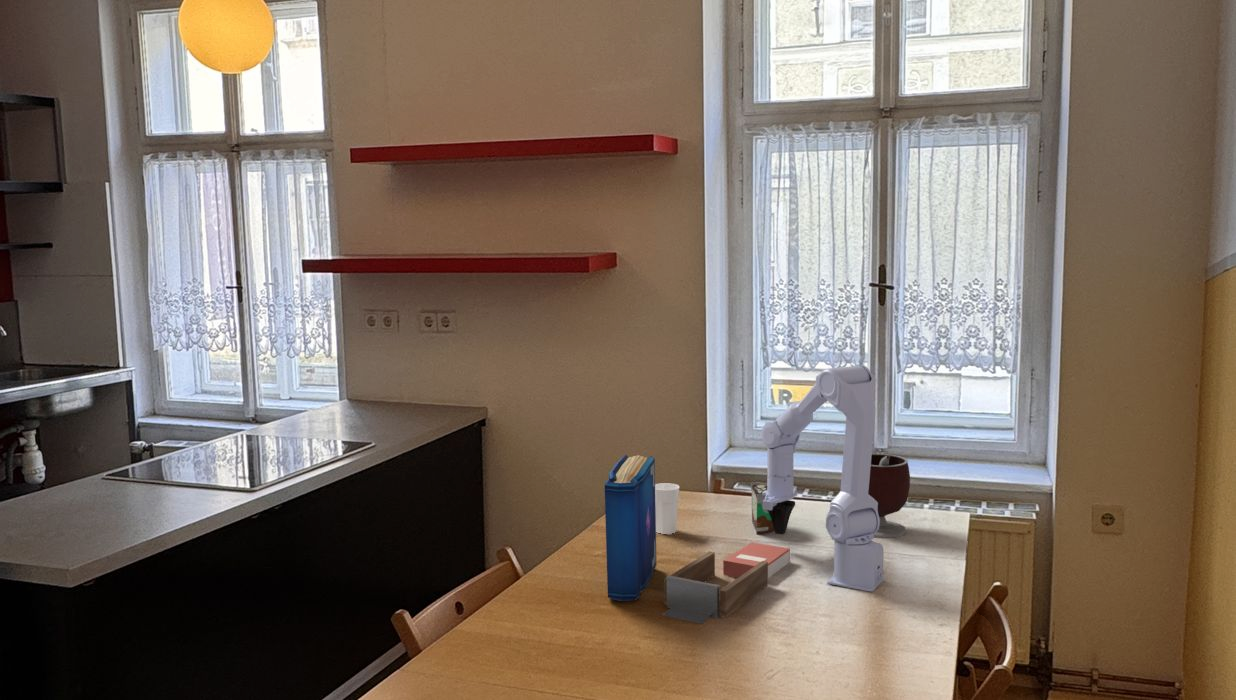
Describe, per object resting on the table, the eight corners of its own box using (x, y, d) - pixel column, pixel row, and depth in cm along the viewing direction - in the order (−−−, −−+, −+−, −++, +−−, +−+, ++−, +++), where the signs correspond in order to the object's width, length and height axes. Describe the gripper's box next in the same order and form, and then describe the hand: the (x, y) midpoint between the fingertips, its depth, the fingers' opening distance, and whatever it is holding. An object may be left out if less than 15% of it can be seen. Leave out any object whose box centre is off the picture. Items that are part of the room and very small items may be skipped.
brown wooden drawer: (767, 585, 201) (767, 561, 200) (725, 617, 185) (725, 591, 184) (709, 574, 208) (709, 551, 207) (664, 604, 192) (664, 579, 191)
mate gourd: (843, 521, 243) (844, 441, 241) (901, 521, 243) (902, 441, 240) (856, 541, 228) (857, 456, 226) (917, 541, 227) (919, 455, 225)
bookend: (719, 616, 185) (719, 585, 185) (707, 625, 181) (707, 593, 181) (669, 605, 191) (669, 575, 191) (656, 614, 187) (655, 583, 186)
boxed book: (790, 564, 215) (790, 548, 214) (763, 584, 203) (763, 567, 203) (751, 557, 220) (751, 541, 219) (723, 576, 208) (723, 560, 207)
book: (639, 606, 191) (637, 479, 188) (603, 604, 193) (600, 478, 190) (657, 568, 212) (655, 454, 209) (624, 566, 214) (622, 453, 211)
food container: (783, 536, 233) (783, 494, 232) (757, 536, 233) (757, 494, 232) (776, 520, 245) (776, 481, 244) (751, 521, 245) (751, 481, 244)
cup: (647, 529, 240) (646, 485, 238) (671, 525, 242) (671, 481, 241) (660, 537, 234) (659, 491, 232) (684, 533, 237) (684, 488, 235)
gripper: (776, 465, 228) (776, 522, 230) (749, 479, 216) (749, 539, 218) (805, 468, 225) (805, 526, 226) (779, 483, 212) (779, 544, 214)
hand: (780, 533), depth 222 cm, fingers closed
